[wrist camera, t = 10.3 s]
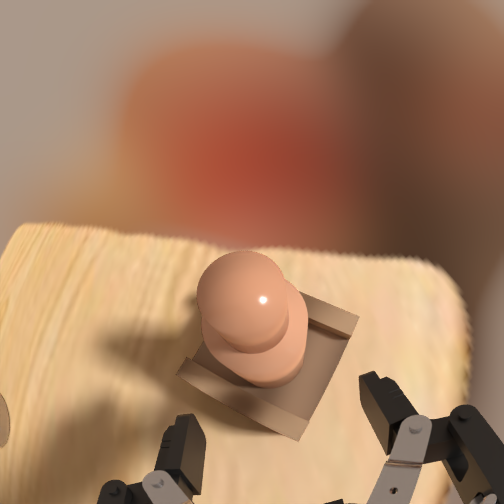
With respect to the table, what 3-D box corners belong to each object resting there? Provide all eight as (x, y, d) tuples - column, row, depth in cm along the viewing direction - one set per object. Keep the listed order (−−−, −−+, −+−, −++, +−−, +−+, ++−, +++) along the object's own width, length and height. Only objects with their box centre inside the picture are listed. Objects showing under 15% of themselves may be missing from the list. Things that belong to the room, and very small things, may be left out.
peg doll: (222, 368, 21) (150, 317, 11) (255, 311, 23) (219, 217, 13) (284, 400, 19) (269, 384, 9) (316, 338, 21) (331, 259, 11)
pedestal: (200, 384, 25) (175, 374, 20) (252, 296, 29) (242, 266, 24) (297, 435, 22) (298, 441, 16) (346, 337, 26) (359, 316, 20)
